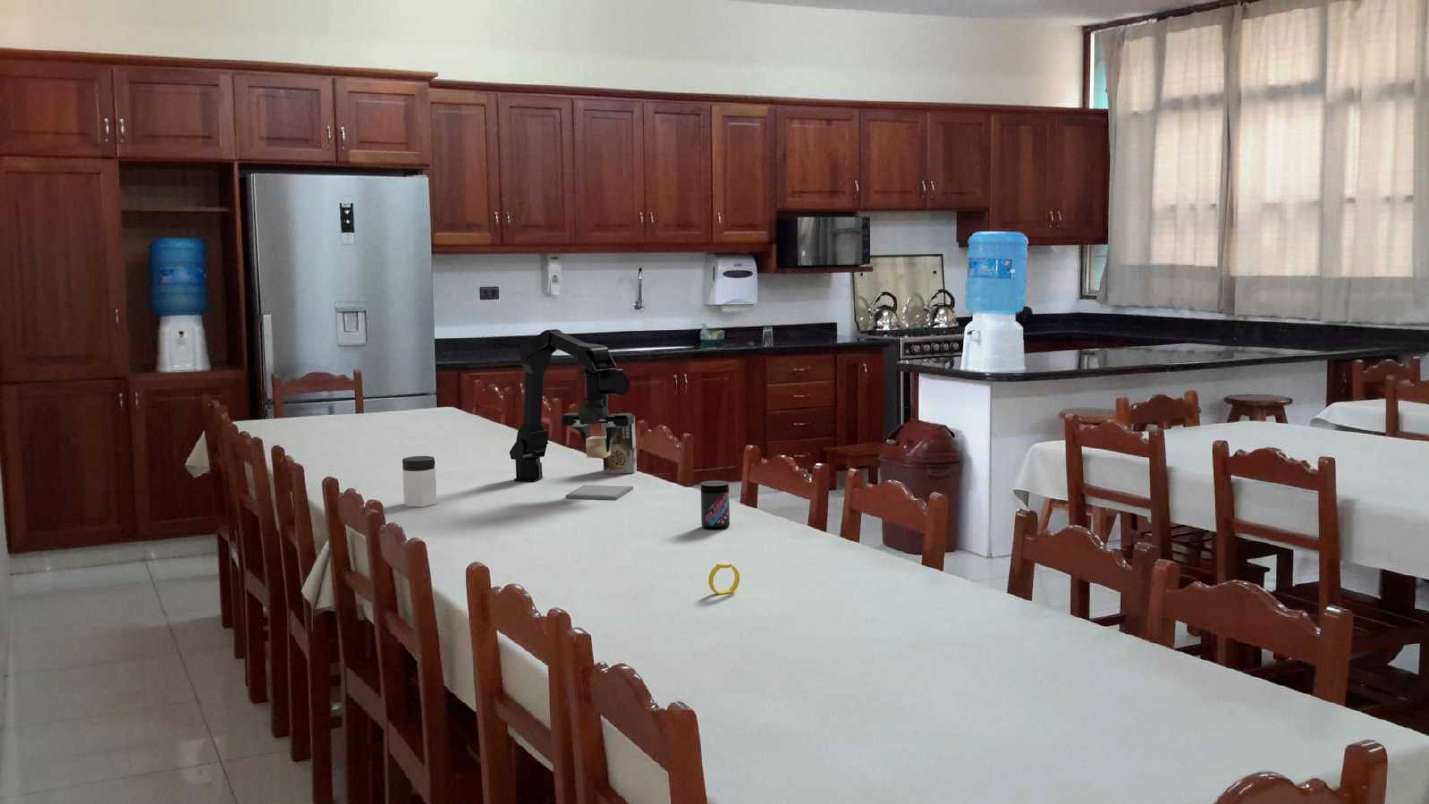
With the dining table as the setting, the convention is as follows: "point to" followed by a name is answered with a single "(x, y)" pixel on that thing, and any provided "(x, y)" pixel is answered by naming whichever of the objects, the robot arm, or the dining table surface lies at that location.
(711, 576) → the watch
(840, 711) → the dining table surface
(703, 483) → the supplement container
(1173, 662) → the dining table surface
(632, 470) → the coffee box
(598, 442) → the maple cube
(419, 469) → the jar
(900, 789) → the dining table surface
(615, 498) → the mat
